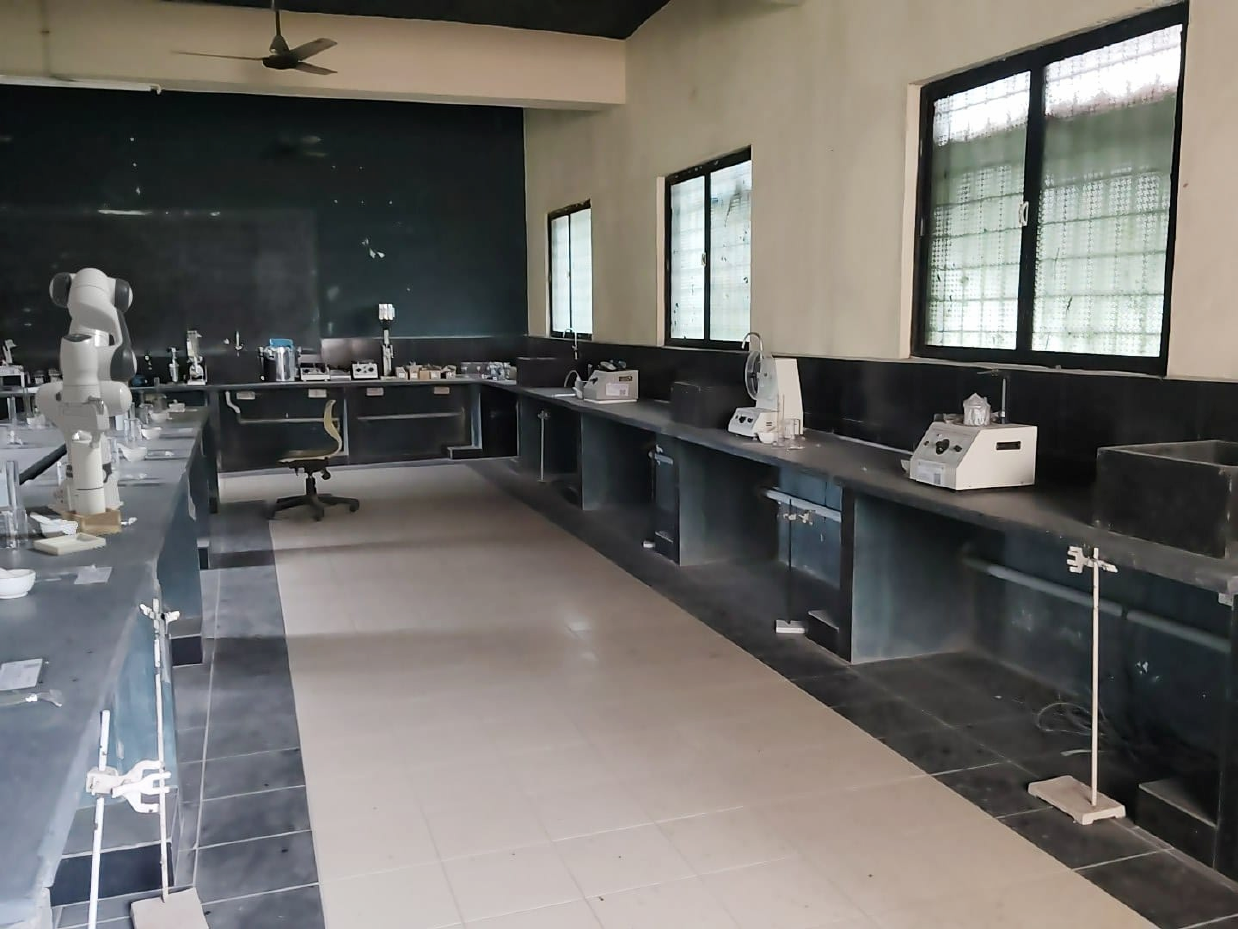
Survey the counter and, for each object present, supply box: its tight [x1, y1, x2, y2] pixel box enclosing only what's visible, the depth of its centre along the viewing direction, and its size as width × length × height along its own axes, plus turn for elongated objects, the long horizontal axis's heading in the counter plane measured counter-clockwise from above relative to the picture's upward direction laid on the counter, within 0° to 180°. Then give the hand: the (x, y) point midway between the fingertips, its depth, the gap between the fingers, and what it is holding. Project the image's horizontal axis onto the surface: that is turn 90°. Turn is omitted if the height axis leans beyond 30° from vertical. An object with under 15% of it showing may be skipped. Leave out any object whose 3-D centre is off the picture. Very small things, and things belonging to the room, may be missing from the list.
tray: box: [33, 533, 107, 556], centre depth 260 cm, size 12×12×2 cm
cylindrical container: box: [70, 440, 106, 516], centre depth 275 cm, size 7×7×25 cm
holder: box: [60, 507, 123, 537], centre depth 276 cm, size 11×11×6 cm
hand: (85, 447), depth 273 cm, fingers open, 8 cm apart
